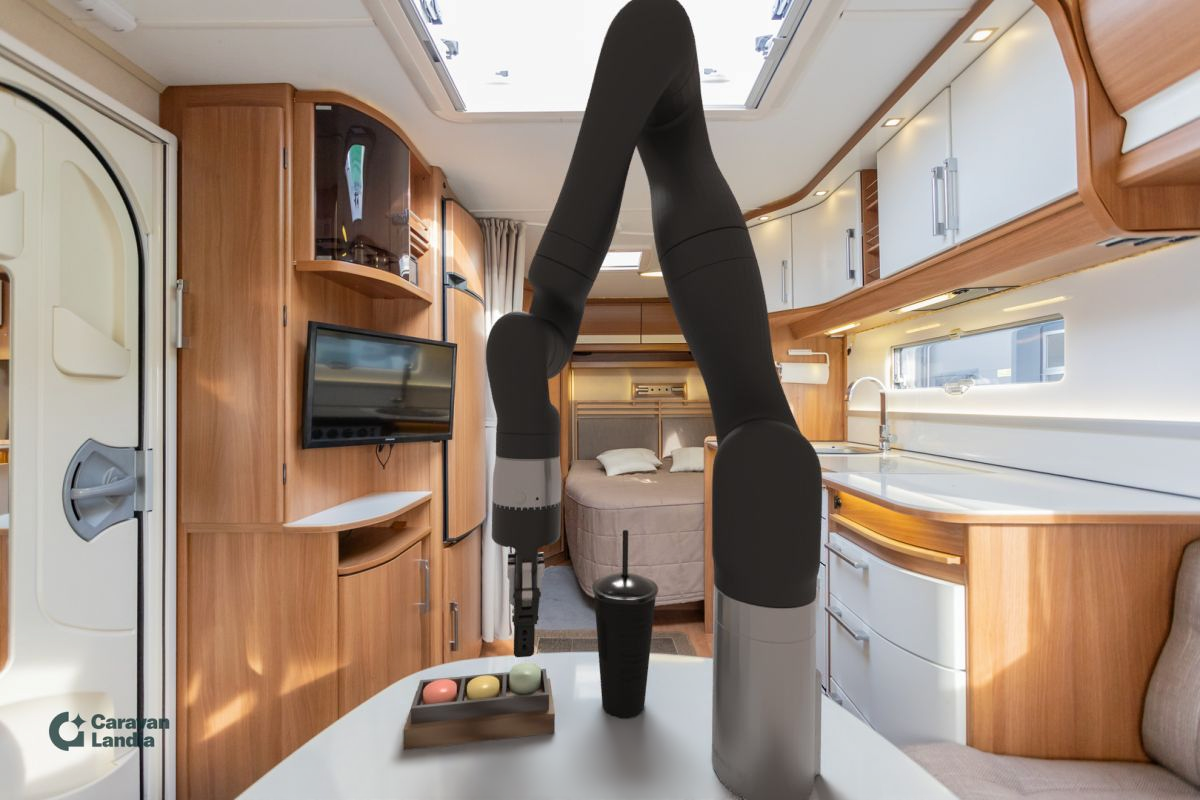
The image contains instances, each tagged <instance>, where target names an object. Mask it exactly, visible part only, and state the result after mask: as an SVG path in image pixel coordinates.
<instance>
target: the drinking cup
mask: <svg viewBox="0 0 1200 800" xmlns="http://www.w3.org/2000/svg"><path fill="white" fill-rule="evenodd" d="M621 547H622V556H621V558H622V563H621V566H622V567H621V572H615V573H611V574H608V575H605V576H602V577H598V578H597V579H596V580H595V581H593V582H592V585H591V593H592V595H593V597H594V598H593V599H594V611H595V623H596V624H595V625H596V636H597V638H596V639H597V651H598V652H597V653H598V664H599V677H600V679H599V680H600V691H601V693H600V694H601V706H602V708H603V710H604V712H605V713H606V714H607V715H609V716H611V717H612V718H616V719H622V720H627V719H628V720H629V719H634V718H637V717H638V716H639V715H641V714H642V712H643V711H644V708H645V703H646V693H647V684H648V674H649V663H650V654H651V645H652V644H651V643H652V635H653V626H654V625H653V624H654V616H655V608H656V606H655V605H656V598H657V597H658V595H659V586H658V584H657V583H656V582H655V581H653V580H651V579H650V578H647V577H644V576H642V575H639V574H637V573H634V572H629V530H627V529H623V530H622V546H621Z"/></svg>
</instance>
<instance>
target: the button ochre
mask: <svg viewBox="0 0 1200 800" xmlns="http://www.w3.org/2000/svg"><path fill="white" fill-rule="evenodd" d="M496 697H499V680H498V679H497V678H496V677H493V676H487V675H486V676H479V677H476V678H474V679H472V680H471V681H470V682H469V683H468V685H467V700H476V699H486V698H496Z"/></svg>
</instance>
